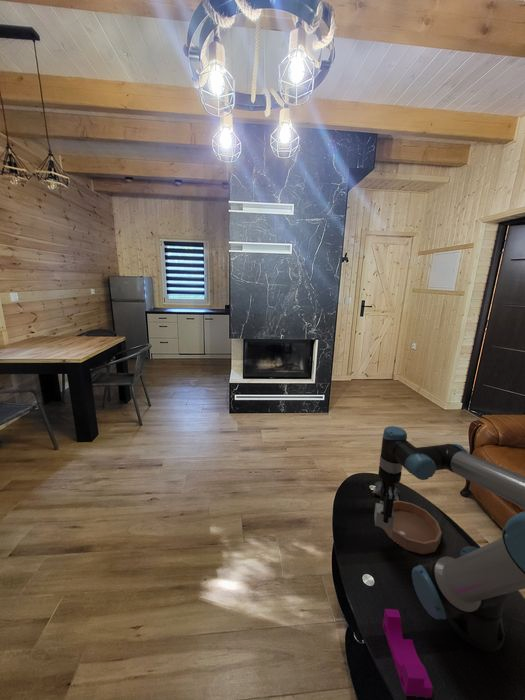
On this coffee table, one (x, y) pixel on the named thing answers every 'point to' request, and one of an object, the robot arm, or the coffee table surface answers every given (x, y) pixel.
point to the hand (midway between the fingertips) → (383, 521)
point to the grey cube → (378, 515)
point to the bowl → (414, 528)
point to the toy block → (405, 657)
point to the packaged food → (378, 490)
